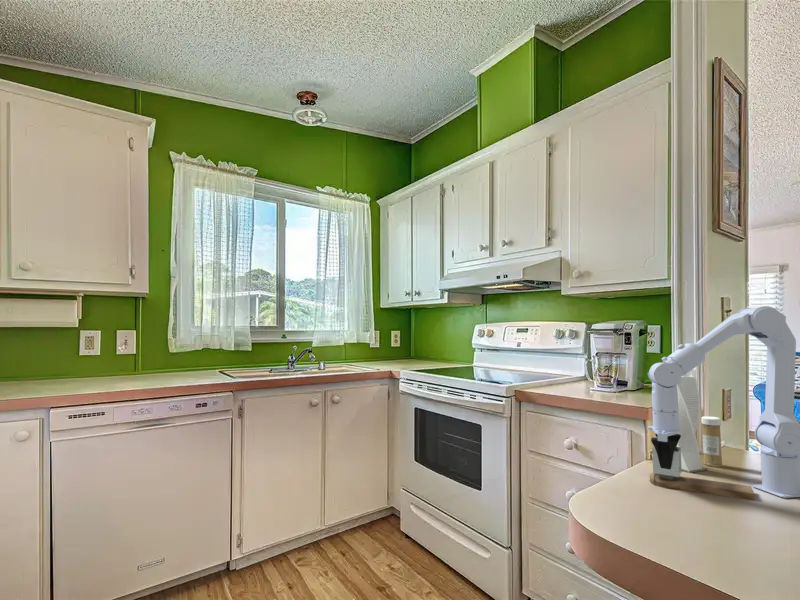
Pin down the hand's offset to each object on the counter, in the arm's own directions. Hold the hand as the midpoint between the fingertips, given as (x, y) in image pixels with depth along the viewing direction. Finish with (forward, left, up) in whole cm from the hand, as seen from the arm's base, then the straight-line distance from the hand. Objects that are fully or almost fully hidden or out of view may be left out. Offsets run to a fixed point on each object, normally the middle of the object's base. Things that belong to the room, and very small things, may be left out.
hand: (667, 465), depth 116 cm
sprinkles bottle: (-24, -13, -5) cm, 28 cm away
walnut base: (-5, +4, -4) cm, 8 cm away
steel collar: (0, 0, -2) cm, 2 cm away
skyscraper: (-14, -11, -5) cm, 18 cm away
